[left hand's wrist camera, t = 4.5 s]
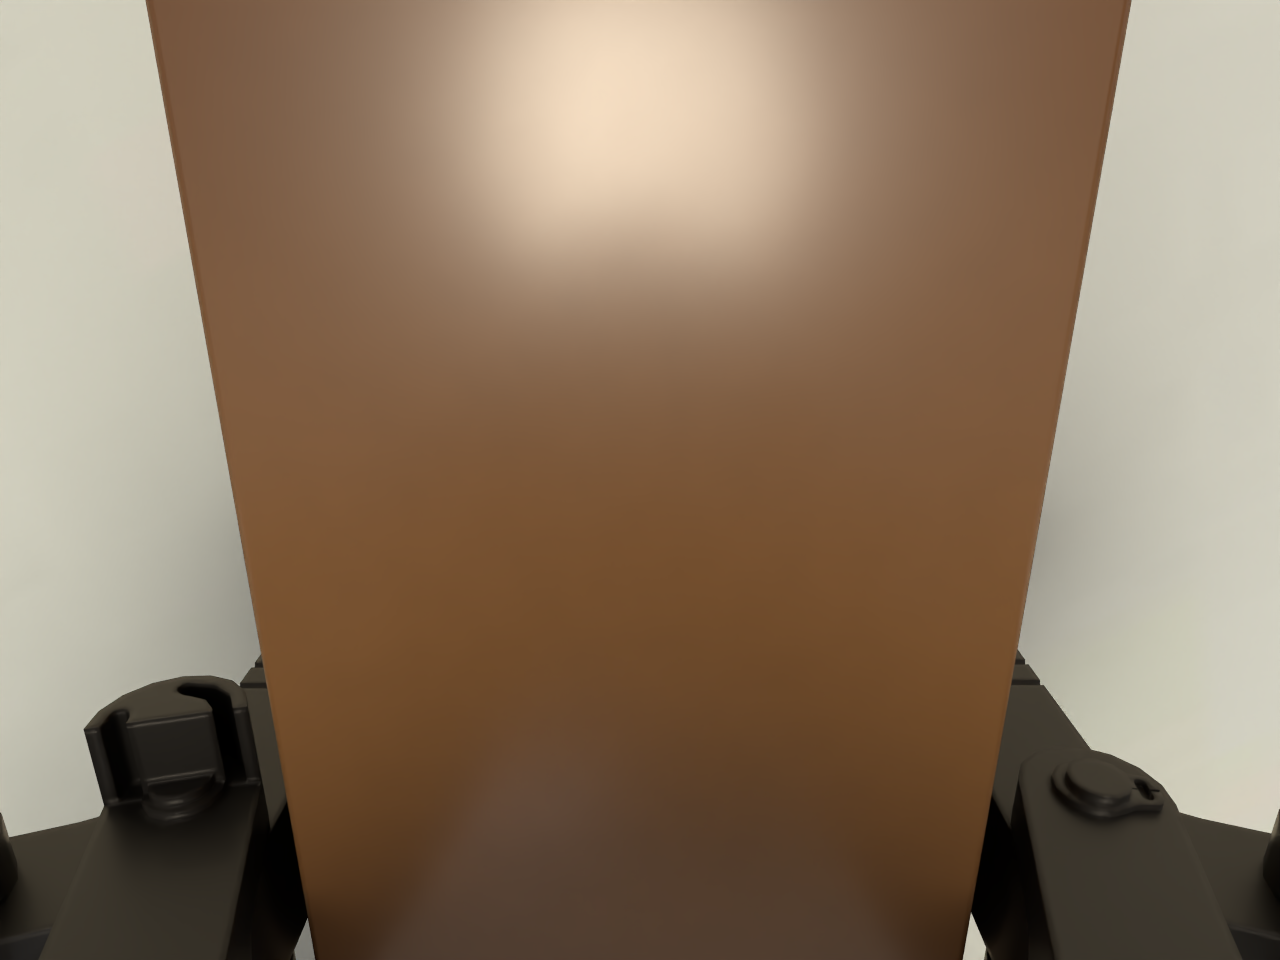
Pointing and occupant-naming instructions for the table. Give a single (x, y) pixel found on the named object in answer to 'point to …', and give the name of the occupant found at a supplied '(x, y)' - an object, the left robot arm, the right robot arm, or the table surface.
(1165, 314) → the table surface
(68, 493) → the table surface
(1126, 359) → the table surface
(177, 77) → the beam
